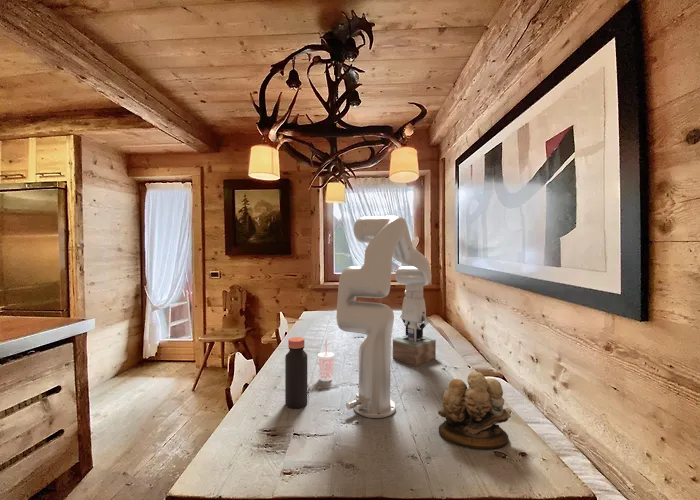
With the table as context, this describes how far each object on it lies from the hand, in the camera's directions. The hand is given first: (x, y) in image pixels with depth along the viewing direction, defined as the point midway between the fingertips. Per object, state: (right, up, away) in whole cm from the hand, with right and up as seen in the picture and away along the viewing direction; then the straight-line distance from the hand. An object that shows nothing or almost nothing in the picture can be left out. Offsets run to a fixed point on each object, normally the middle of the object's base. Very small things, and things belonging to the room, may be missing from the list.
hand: (414, 336), depth 142 cm
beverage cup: (-36, -10, -21) cm, 43 cm away
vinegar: (-44, -10, -40) cm, 61 cm away
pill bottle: (0, -3, 0) cm, 3 cm away
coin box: (0, -10, 0) cm, 10 cm away
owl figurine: (+4, -11, -57) cm, 58 cm away
